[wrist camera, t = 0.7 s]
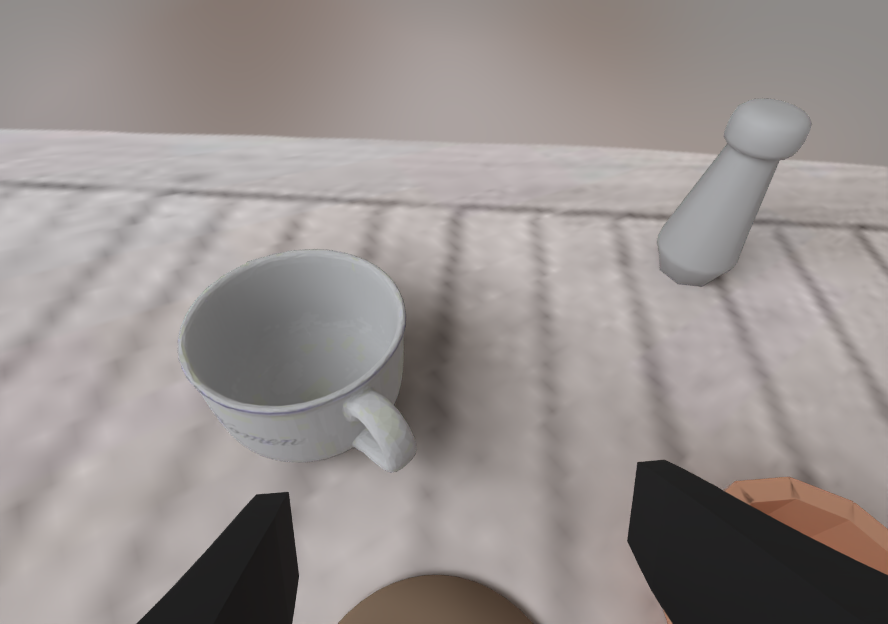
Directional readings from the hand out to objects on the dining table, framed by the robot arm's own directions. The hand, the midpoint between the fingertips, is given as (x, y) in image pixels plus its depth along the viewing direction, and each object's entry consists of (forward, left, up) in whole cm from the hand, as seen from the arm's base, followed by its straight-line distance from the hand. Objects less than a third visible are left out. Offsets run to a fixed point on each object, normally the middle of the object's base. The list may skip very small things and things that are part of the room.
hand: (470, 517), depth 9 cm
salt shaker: (+22, -21, -15) cm, 34 cm away
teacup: (+11, +6, -16) cm, 20 cm away
